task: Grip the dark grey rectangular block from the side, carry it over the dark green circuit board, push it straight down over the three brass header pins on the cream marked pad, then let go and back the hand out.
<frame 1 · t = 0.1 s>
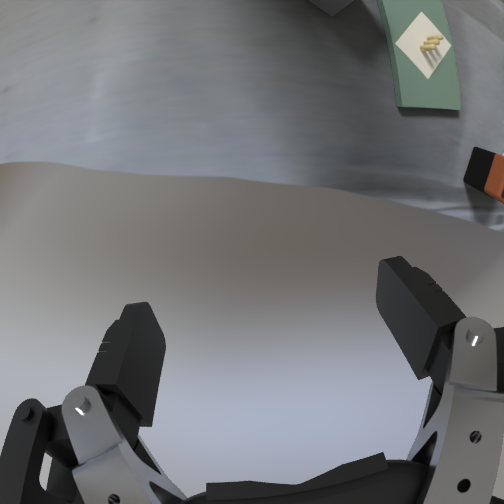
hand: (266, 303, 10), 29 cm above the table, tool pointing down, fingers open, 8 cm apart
circuit board: (419, 45, 28), on the table
battery: (473, 167, 37), on the table
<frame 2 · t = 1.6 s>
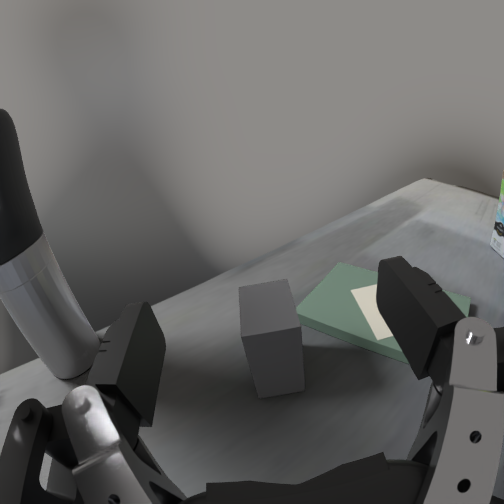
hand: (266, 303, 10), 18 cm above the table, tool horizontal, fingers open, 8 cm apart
circuit board: (388, 315, 31), on the table
dark grey rectangular block: (277, 370, 28), on the table
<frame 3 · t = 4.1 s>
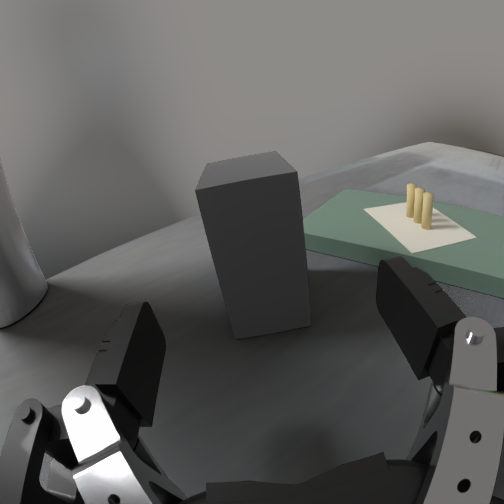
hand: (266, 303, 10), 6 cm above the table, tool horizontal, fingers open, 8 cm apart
circuit board: (416, 237, 23), on the table
dark grey rectangular block: (267, 300, 19), on the table
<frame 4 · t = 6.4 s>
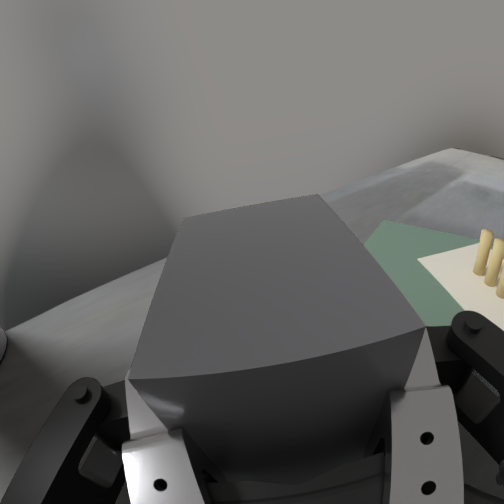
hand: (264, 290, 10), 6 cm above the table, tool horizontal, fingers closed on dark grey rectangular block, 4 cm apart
circuit board: (483, 301, 14), on the table
dark grey rectangular block: (289, 431, 11), on the table, touching gripper
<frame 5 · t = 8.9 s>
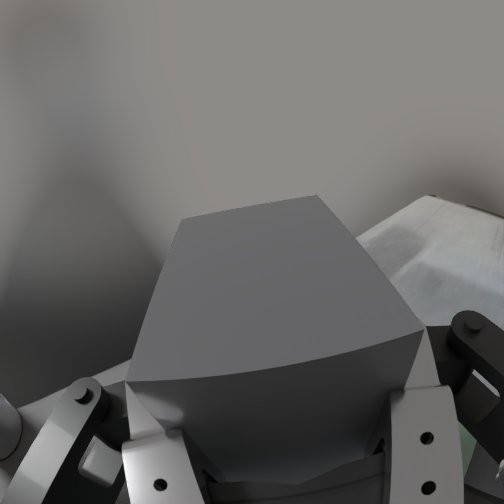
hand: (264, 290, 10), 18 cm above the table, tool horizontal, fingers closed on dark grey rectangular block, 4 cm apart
circuit board: (361, 443, 19), on the table
dark grey rectangular block: (288, 432, 11), point 12 cm above the table, touching gripper
when the fingers open (8 cm above the table, at t = 11.6 s): dark grey rectangular block stays where it is, resting on circuit board.
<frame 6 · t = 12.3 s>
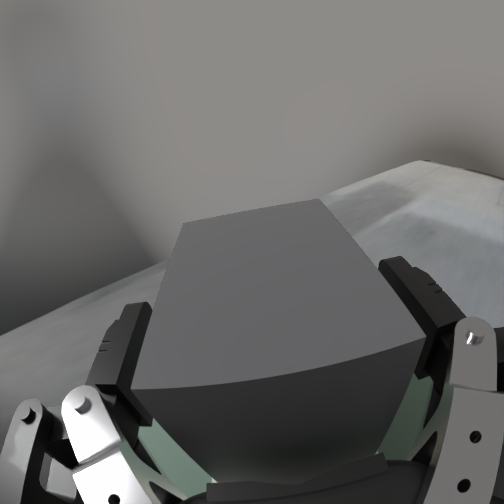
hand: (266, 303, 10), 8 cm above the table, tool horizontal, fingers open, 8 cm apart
circuit board: (291, 445, 12), on the table
dark grey rectangular block: (290, 434, 11), point 2 cm above the table, touching circuit board
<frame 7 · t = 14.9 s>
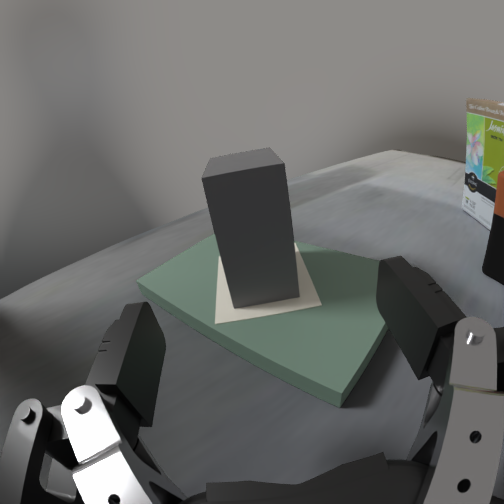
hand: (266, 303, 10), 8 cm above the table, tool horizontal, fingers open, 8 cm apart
circuit board: (264, 293, 23), on the table
dark grey rectangular block: (262, 277, 22), point 2 cm above the table, touching circuit board
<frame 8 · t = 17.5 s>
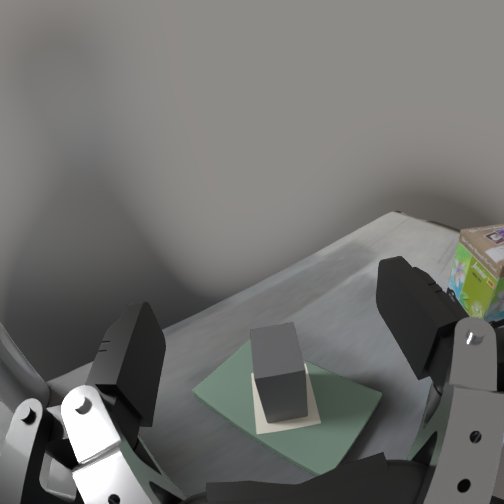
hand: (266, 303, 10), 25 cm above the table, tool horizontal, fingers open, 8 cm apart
circuit board: (284, 403, 31), on the table
dark grey rectangular block: (283, 397, 30), point 2 cm above the table, touching circuit board
tea box: (486, 321, 33), on the table
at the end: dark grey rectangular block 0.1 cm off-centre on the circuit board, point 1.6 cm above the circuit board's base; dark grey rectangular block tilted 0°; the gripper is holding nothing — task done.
